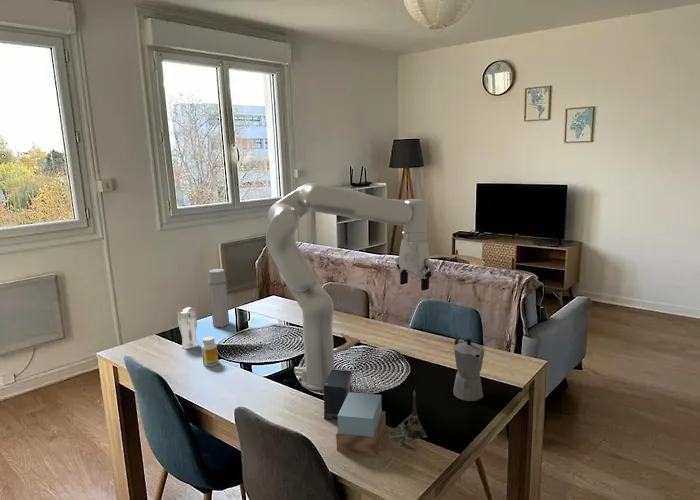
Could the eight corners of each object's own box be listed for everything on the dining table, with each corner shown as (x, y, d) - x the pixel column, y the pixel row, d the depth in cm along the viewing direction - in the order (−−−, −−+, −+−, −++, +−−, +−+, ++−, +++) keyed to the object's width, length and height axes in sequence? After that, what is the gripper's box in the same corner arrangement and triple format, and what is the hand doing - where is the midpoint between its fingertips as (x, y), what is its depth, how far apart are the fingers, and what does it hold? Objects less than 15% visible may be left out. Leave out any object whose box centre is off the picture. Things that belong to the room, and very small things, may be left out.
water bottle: (228, 327, 212) (223, 272, 207) (210, 328, 212) (204, 272, 207) (233, 320, 221) (228, 267, 216) (216, 320, 221) (211, 267, 216)
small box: (346, 421, 136) (344, 386, 134) (323, 419, 137) (321, 385, 135) (353, 402, 146) (352, 369, 144) (332, 400, 147) (330, 368, 145)
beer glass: (177, 348, 191) (172, 312, 188) (189, 341, 198) (185, 306, 195) (191, 350, 189) (187, 313, 186) (202, 343, 195) (199, 308, 192)
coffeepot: (493, 402, 143) (494, 345, 139) (463, 407, 141) (464, 349, 137) (469, 379, 158) (469, 326, 154) (442, 383, 156) (442, 330, 152)
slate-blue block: (338, 433, 122) (337, 415, 121) (349, 409, 133) (348, 392, 132) (373, 437, 120) (372, 418, 119) (381, 411, 131) (381, 394, 130)
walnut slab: (337, 451, 123) (336, 434, 122) (350, 424, 135) (349, 407, 134) (375, 457, 120) (375, 438, 119) (385, 428, 132) (385, 411, 131)
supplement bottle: (221, 361, 178) (219, 336, 176) (211, 367, 173) (209, 342, 171) (210, 359, 180) (207, 334, 178) (200, 365, 175) (197, 340, 173)
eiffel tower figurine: (411, 415, 139) (410, 371, 136) (443, 426, 133) (443, 381, 130) (382, 440, 127) (381, 393, 125) (416, 454, 121) (415, 405, 118)
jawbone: (362, 339, 196) (362, 335, 195) (348, 361, 177) (348, 356, 176) (340, 336, 198) (341, 331, 198) (324, 357, 179) (325, 352, 179)
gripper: (388, 234, 164) (388, 283, 168) (426, 241, 151) (425, 294, 154) (404, 232, 169) (403, 279, 172) (442, 238, 156) (441, 290, 159)
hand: (414, 286), depth 163 cm, fingers open, 9 cm apart
